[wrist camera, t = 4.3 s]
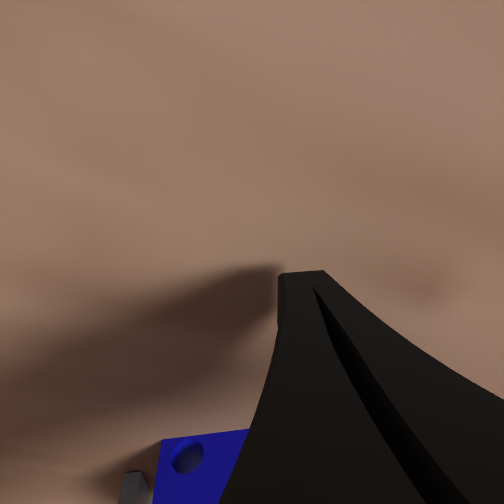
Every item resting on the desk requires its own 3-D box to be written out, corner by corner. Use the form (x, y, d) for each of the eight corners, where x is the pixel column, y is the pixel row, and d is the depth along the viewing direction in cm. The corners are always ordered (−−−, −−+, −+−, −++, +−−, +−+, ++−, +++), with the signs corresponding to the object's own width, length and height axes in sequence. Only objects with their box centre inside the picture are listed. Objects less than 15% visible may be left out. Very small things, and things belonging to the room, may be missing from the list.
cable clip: (411, 387, 15) (512, 559, 10) (396, 438, 17) (470, 599, 12) (155, 418, 14) (118, 615, 9) (175, 467, 17) (154, 645, 12)
